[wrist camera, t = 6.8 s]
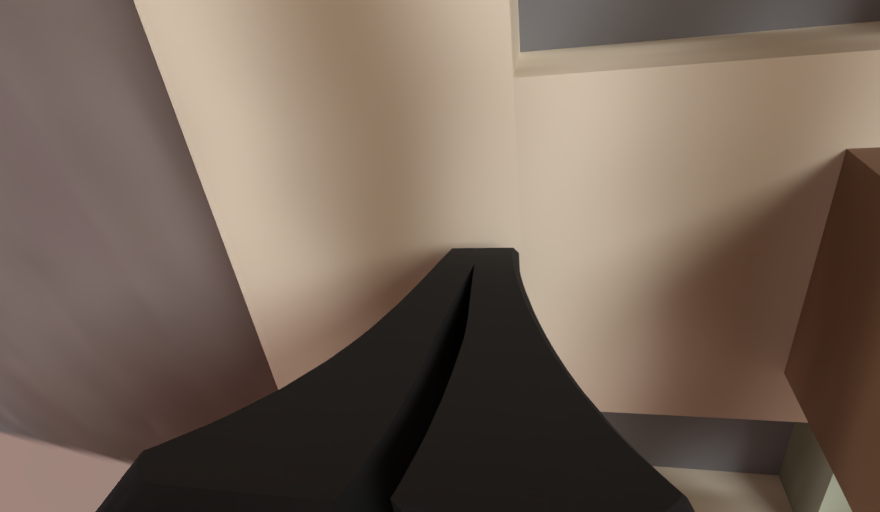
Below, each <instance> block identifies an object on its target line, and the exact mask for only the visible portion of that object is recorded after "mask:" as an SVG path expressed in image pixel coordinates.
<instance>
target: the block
mask: <svg viewBox="0 0 880 512" xmlns="http://www.w3.org/2000/svg"><path fill="white" fill-rule="evenodd" d="M784 374H785V376H786V378H787V380H788V383H789V385H790V387H791V389H792V391H793V393H794V395H795V397H796V399H797V401H798V403H799V405H800V407H801V409H802V411H803V413H804V415H805V417H806V419H807V421H808V423H809V425H810V427H811V429H812V431H813V433H814V435H815V437H816V439H817V441H818V443H819V445H820V447H821V449H822V451H823V453H824V455H825V457H826V459H827V461H828V463H829V465H830V467H831V470H832V472H833V474H834V476H835V478H836V480H837V482H838V484H839V486H840V488H841V490H842V492H843V494H844V496H845V498H846V500H847V502H848V504H849V506H850V508H851V510H852V512H880V147H876V148H852V149H846V152H845V156H844V160H843V163H842V167H841V170H840V174H839V177H838V181H837V185H836V188H835V192H834V195H833V199H832V203H831V206H830V210H829V213H828V217H827V221H826V224H825V228H824V231H823V235H822V238H821V242H820V246H819V249H818V253H817V256H816V260H815V264H814V267H813V271H812V274H811V278H810V281H809V285H808V289H807V292H806V296H805V299H804V303H803V307H802V310H801V314H800V317H799V321H798V325H797V328H796V332H795V335H794V339H793V342H792V346H791V350H790V353H789V357H788V360H787V364H786V368H785V371H784Z"/></svg>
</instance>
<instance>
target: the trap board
mask: <svg viewBox="0 0 880 512" xmlns="http://www.w3.org/2000/svg"><path fill="white" fill-rule="evenodd" d="M134 3H135V6H136V8H137V11H138V14H139V16H140V19H141V22H142V24H143V27H144V30H145V33H146V35H147V38H148V41H149V43H150V46H151V49H152V51H153V54H154V57H155V59H156V62H157V65H158V68H159V70H160V73H161V76H162V78H163V81H164V84H165V86H166V89H167V92H168V94H169V97H170V100H171V103H172V105H173V108H174V111H175V113H176V116H177V119H178V121H179V124H180V127H181V129H182V132H183V135H184V138H185V140H186V143H187V146H188V148H189V151H190V154H191V156H192V159H193V162H194V164H195V167H196V170H197V172H198V175H199V178H200V181H201V183H202V186H203V189H204V191H205V194H206V197H207V199H208V202H209V205H210V207H211V210H212V213H213V216H214V218H215V221H216V224H217V226H218V229H219V232H220V234H221V237H222V240H223V242H224V245H225V248H226V251H227V253H228V256H229V259H230V261H231V264H232V267H233V269H234V272H235V275H236V277H237V280H238V283H239V286H240V288H241V291H242V294H243V296H244V299H245V302H246V304H247V307H248V310H249V312H250V315H251V318H252V320H253V323H254V326H255V329H256V331H257V334H258V337H259V339H260V342H261V345H262V347H263V350H264V353H265V355H266V358H267V361H268V364H269V366H270V369H271V372H272V374H273V377H274V380H275V382H276V385H277V388H278V390H279V389H281V388H283V387H284V386H286V385H288V384H289V383H291V382H293V381H294V380H296V379H298V378H299V377H301V376H302V375H304V374H306V373H307V372H309V371H311V370H312V369H314V368H316V367H317V366H319V365H320V364H322V363H324V362H325V361H327V360H328V359H330V358H331V357H333V356H334V355H335V354H337V353H338V352H340V351H341V350H342V349H344V348H345V347H347V346H348V345H349V344H351V343H352V342H354V341H355V340H356V339H357V338H359V337H360V336H361V335H363V334H364V333H365V332H366V331H368V330H369V329H370V328H371V327H372V326H374V325H375V324H376V323H377V322H378V321H379V320H380V319H381V318H383V317H384V316H385V315H386V314H387V313H388V312H389V311H390V310H392V309H393V308H394V307H395V306H396V305H397V304H398V303H399V302H400V301H401V300H402V299H403V298H404V297H405V296H406V295H407V294H408V293H409V292H410V291H411V290H412V289H413V288H414V287H415V286H416V285H417V284H418V283H419V282H420V281H421V280H422V279H423V278H424V277H425V276H426V275H427V274H428V273H429V272H430V271H431V270H432V269H433V268H434V266H435V265H436V264H437V263H438V262H439V261H440V260H441V259H442V258H443V257H444V256H445V255H446V254H447V253H448V252H449V251H450V250H451V249H452V248H514V249H515V250H516V251H517V252H519V263H520V274H521V278H522V281H523V285H524V288H525V291H526V293H527V296H528V298H529V301H530V303H531V305H532V308H533V310H534V312H535V315H536V317H537V319H538V321H539V323H540V325H541V327H542V329H543V330H544V332H545V334H546V336H547V338H548V340H549V341H550V343H551V345H552V347H553V348H554V350H555V352H556V353H557V355H558V356H559V358H560V359H561V361H562V362H563V364H564V365H565V367H566V368H567V370H568V371H569V373H570V374H571V376H572V377H573V378H574V380H575V381H576V382H577V384H578V385H579V387H580V388H581V389H582V391H583V392H584V393H585V394H586V395H587V397H588V398H589V399H590V400H591V401H592V402H593V404H594V405H595V406H596V407H597V408H598V409H599V411H600V412H601V413H602V414H603V415H604V417H605V418H606V419H607V420H608V421H609V422H610V424H611V425H612V426H613V427H614V428H615V429H616V430H617V431H618V432H619V433H620V434H621V435H622V436H623V438H624V439H625V440H626V441H627V442H628V443H629V444H630V445H631V446H632V447H633V448H634V449H635V450H636V451H637V452H638V453H639V454H640V455H641V456H642V457H643V458H644V459H645V460H646V461H647V462H649V463H650V464H651V465H652V466H653V467H654V468H655V469H656V470H657V471H658V472H659V473H660V474H661V475H662V476H664V477H665V478H666V479H667V480H668V481H669V482H670V483H671V484H673V485H674V486H675V487H676V488H677V489H678V490H679V491H680V492H682V493H683V494H684V495H685V496H686V497H687V498H688V500H689V502H690V503H691V505H692V507H693V509H694V511H695V512H852V510H851V508H850V506H849V504H848V502H847V500H846V498H845V496H844V494H843V492H842V490H841V488H840V486H839V484H838V482H837V480H836V478H835V476H834V474H833V472H832V470H831V467H830V465H829V463H828V461H827V459H826V457H825V455H824V453H823V451H822V449H821V447H820V445H819V443H818V441H817V439H816V437H815V435H814V433H813V431H812V429H811V427H810V425H809V423H808V421H807V419H806V417H805V415H804V413H803V411H802V409H801V407H800V405H799V403H798V401H797V399H796V397H795V395H794V393H793V391H792V389H791V387H790V385H789V383H788V380H787V378H786V376H785V374H784V371H785V368H786V364H787V360H788V357H789V353H790V350H791V346H792V342H793V339H794V335H795V332H796V328H797V325H798V321H799V317H800V314H801V310H802V307H803V303H804V299H805V296H806V292H807V289H808V285H809V281H810V278H811V274H812V271H813V267H814V264H815V260H816V256H817V253H818V249H819V246H820V242H821V238H822V235H823V231H824V228H825V224H826V221H827V217H828V213H829V210H830V206H831V203H832V199H833V195H834V192H835V188H836V185H837V181H838V177H839V174H840V170H841V167H842V163H843V160H844V156H845V152H846V149H852V148H876V147H880V0H134Z"/></svg>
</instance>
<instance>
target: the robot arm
mask: <svg viewBox="0 0 880 512" xmlns="http://www.w3.org/2000/svg"><path fill="white" fill-rule="evenodd" d="M96 512H695V511H694V509H693V507H692V505H691V503H690V502H689V500H688V498H687V497H686V496H685V495H684V494H683V493H682V492H680V491H679V490H678V489H677V488H676V487H675V486H674V485H673V484H671V483H670V482H669V481H668V480H667V479H666V478H665V477H664V476H662V475H661V474H660V473H659V472H658V471H657V470H656V469H655V468H654V467H653V466H652V465H651V464H650V463H649V462H647V461H646V460H645V459H644V458H643V457H642V456H641V455H640V454H639V453H638V452H637V451H636V450H635V449H634V448H633V447H632V446H631V445H630V444H629V443H628V442H627V441H626V440H625V439H624V438H623V436H622V435H621V434H620V433H619V432H618V431H617V430H616V429H615V428H614V427H613V426H612V425H611V424H610V422H609V421H608V420H607V419H606V418H605V417H604V415H603V414H602V413H601V412H600V411H599V409H598V408H597V407H596V406H595V405H594V404H593V402H592V401H591V400H590V399H589V398H588V397H587V395H586V394H585V393H584V392H583V391H582V389H581V388H580V387H579V385H578V384H577V382H576V381H575V380H574V378H573V377H572V376H571V374H570V373H569V371H568V370H567V368H566V367H565V365H564V364H563V362H562V361H561V359H560V358H559V356H558V355H557V353H556V352H555V350H554V348H553V347H552V345H551V343H550V341H549V340H548V338H547V336H546V334H545V332H544V330H543V329H542V327H541V325H540V323H539V321H538V319H537V317H536V315H535V312H534V310H533V308H532V305H531V303H530V301H529V298H528V296H527V293H526V291H525V288H524V285H523V281H522V278H521V274H520V263H519V252H517V251H516V250H515V249H514V248H452V249H451V250H450V251H449V252H448V253H447V254H446V255H445V256H444V257H443V258H442V259H441V260H440V261H439V262H438V263H437V264H436V265H435V266H434V268H433V269H432V270H431V271H430V272H429V273H428V274H427V275H426V276H425V277H424V278H423V279H422V280H421V281H420V282H419V283H418V284H417V285H416V286H415V287H414V288H413V289H412V290H411V291H410V292H409V293H408V294H407V295H406V296H405V297H404V298H403V299H402V300H401V301H400V302H399V303H398V304H397V305H396V306H395V307H394V308H393V309H392V310H390V311H389V312H388V313H387V314H386V315H385V316H384V317H383V318H381V319H380V320H379V321H378V322H377V323H376V324H375V325H374V326H372V327H371V328H370V329H369V330H368V331H366V332H365V333H364V334H363V335H361V336H360V337H359V338H357V339H356V340H355V341H354V342H352V343H351V344H349V345H348V346H347V347H345V348H344V349H342V350H341V351H340V352H338V353H337V354H335V355H334V356H333V357H331V358H330V359H328V360H327V361H325V362H324V363H322V364H320V365H319V366H317V367H316V368H314V369H312V370H311V371H309V372H307V373H306V374H304V375H302V376H301V377H299V378H298V379H296V380H294V381H293V382H291V383H289V384H288V385H286V386H284V387H283V388H281V389H279V390H277V391H275V392H274V393H272V394H270V395H268V396H266V397H264V398H262V399H260V400H258V401H257V402H255V403H253V404H251V405H249V406H247V407H245V408H242V409H240V410H238V411H236V412H234V413H232V414H230V415H228V416H226V417H224V418H222V419H219V420H217V421H215V422H213V423H211V424H208V425H206V426H203V427H201V428H199V429H196V430H194V431H191V432H189V433H187V434H184V435H182V436H179V437H177V438H175V439H172V440H170V441H167V442H165V443H163V444H160V445H158V446H155V447H152V448H150V449H147V450H144V451H143V452H142V453H141V454H140V455H139V456H138V458H137V459H136V460H135V461H134V463H133V464H132V465H131V467H130V468H129V469H128V470H127V472H126V473H125V474H124V476H123V477H122V478H121V480H120V481H119V482H118V483H117V485H116V486H115V487H114V489H113V490H112V491H111V493H110V494H109V495H108V496H107V498H106V499H105V500H104V502H103V503H102V504H101V506H100V507H99V508H98V509H97V511H96Z"/></svg>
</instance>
